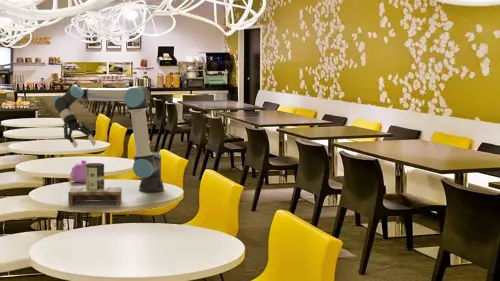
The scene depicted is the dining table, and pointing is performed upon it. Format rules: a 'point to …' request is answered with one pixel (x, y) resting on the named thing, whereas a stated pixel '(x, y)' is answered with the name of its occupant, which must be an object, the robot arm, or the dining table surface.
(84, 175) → the teapot
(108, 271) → the dining table surface
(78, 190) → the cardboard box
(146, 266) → the dining table surface
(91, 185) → the coffee can
